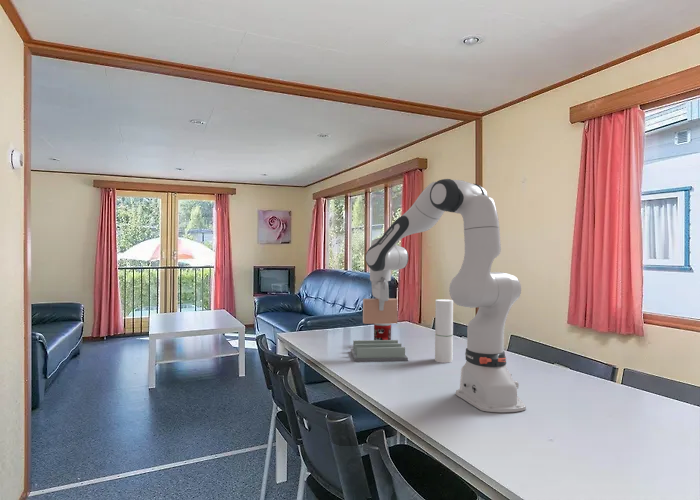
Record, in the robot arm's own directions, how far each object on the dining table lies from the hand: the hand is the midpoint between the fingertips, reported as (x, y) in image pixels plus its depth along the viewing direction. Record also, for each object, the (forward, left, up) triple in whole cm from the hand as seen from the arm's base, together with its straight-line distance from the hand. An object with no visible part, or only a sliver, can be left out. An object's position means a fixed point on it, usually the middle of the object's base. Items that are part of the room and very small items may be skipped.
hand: (380, 309), depth 180 cm
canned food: (+22, -5, -21) cm, 30 cm away
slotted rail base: (+4, 0, -21) cm, 21 cm away
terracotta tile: (0, 0, -6) cm, 6 cm away
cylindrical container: (-5, -26, -21) cm, 34 cm away
